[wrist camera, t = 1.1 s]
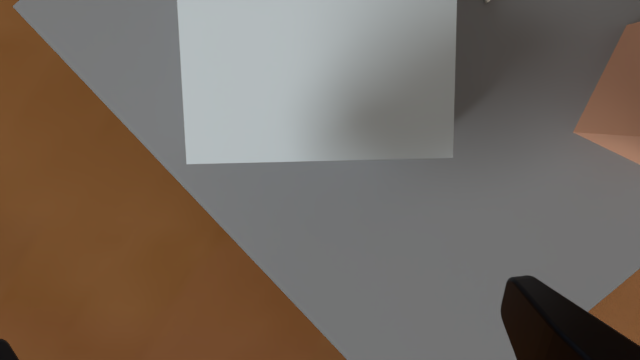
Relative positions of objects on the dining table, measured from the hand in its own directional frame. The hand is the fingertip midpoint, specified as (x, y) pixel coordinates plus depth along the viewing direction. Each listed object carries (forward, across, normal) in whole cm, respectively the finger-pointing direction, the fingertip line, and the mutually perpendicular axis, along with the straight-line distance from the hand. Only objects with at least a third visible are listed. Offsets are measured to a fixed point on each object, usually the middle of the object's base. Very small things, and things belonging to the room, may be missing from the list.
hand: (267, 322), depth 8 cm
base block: (+13, -2, -1) cm, 13 cm away
